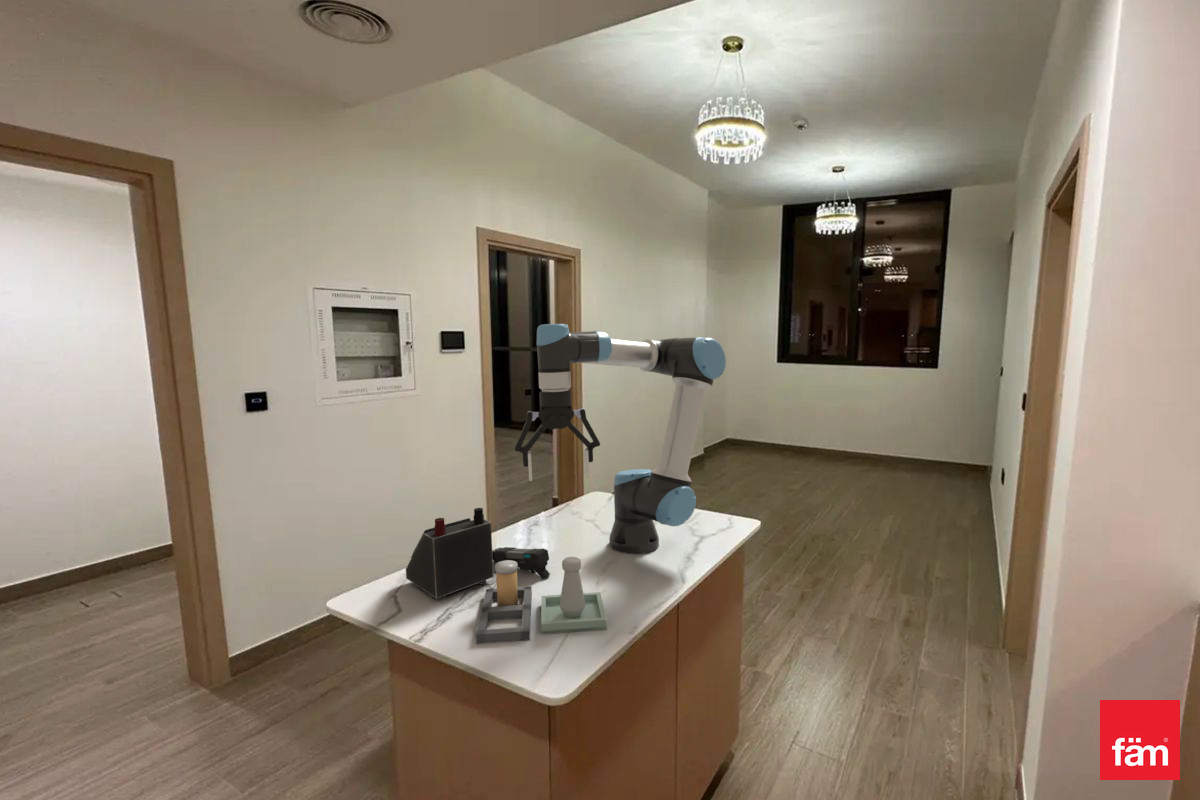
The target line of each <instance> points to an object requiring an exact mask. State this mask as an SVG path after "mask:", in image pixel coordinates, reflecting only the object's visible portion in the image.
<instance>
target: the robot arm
mask: <svg viewBox="0 0 1200 800" xmlns="http://www.w3.org/2000/svg"><path fill="white" fill-rule="evenodd" d="M568 325H569V324H566V323H547V324H546V323H544V324H540V325H539V326H538V327H537V329H536V347H537V348H536V350H537V351H536V352H537V365H538V367H537V368H538V388H539V389H540V390H541V391H540V392H539V393H538V394H539V410H538V411H531V410H528V411H527V413H526V415H527V416H526V420H525V423H524V426H523V427H522V430H521V432H520V434H519V436H518V439H517V441H516V443H515V446H514V451H515V452H520V453H521V454H522V464H523V466H524V467H528V481H529V482H532V481H533V468H532V466H533V465H532V451H530V450H531V449H532V447H533V446H534V445H535V443H536V442H537V441H538V440H539V439H540V437H542V436H541V435H542V434H543V433H544V432H545V431H546V430H547V429H549V430H552V431H553V430H556V429H558V430H563V429H566V428H568V429H569V430H570V431H571V432H572V433H573V434H574V435H575V436H576V437H577V438H578V439H579V441H580V442H581V443H582V444H583V445H584V446H585V447H584V448H583V457H584V461H583V462H584V475H585V477H586V478H589V477H590V463H593V462H594V448H597V447H600V445H601V442H600V440H599V438H598V437H597V435H596V433H595V431H594V430H593V428H592V426H591V424H590V423H589V421H588V419H587V413H586V410H585V408H583V407H580V408H579V409H573V404H572V400H573V399H572V391H571V387H572V382H571V381H572V379H571V364H590V365H603V366H615V367H627V368H629V367H630V368H639V369H640V370H641V371H642V372H649V373H656V374H661V375H664V376H668V377H669V376H670V377H671V380H672V382H673V383H674V385H675V388H674V392H673V398H672V402H671V406H670V412H669V414H668V415H669V416H668V421H667V425H666V429H665V433H664V438H663V442H662V446H661V447H662V448H661V452H660V457H659V461H658V464H657V466H656V468H654V469H652V470H651V469H648V468H637V469H636V468H635V469H626V470H621V471H619V472H616V474H615V475H614V479H613V480H614V481H613V498H614V500H613V501H614V503H613V504H614V505H613V506H614V521H613V524H612V528H611V531H610V534H609V538H608V539H609V540H608V541H609V543H608V544H609V547H610V549H612V550H613V551H616V552H619V553H623V554H631V555H632V554H634V555H636V554H637V555H638V554H646V553H650V552H653V551H655V550H656V549H658V548H659V547H660V538H659V534H658V531H657V529H656V525H655V523H654V521H655V522H657V523H659V524H661V525H665V526H668V527H680V526H682V525H684V524H685V523H686V521H688V520H690V519H691V517H692V516H693V514H694V512H695V508H696V505H697V497H696V494H695V493H696V492H695V491H694V489H693V488H691V486H692V479H691V477H690V476H689V469H690V465H691V459H692V457H693V456H692V455H693V450H694V447H695V441H696V437H697V434H698V433H697V431H698V427H699V422H700V419H701V413H702V410H703V404H704V399H705V396H706V392H707V391H709V390H710V389H712V388H713V383H714V380H717V379H718V378H721V376H722V375H723V374H724V371H725V369H726V365H727V364H726V362H727V360H726V354H725V351H724V349H723V346H722V345H721V343H720V342H719V341H718V340H716V339H714V338H712V337H703V336H698V337H673V338H665V339H648V338H647V339H644V340H642V341H635V340H625V339H615V338H611V337H610V335H609V334H608V332H607V333H606V332H605V331H599V330H598V331H597V330H592V331H576V332H573V331H570V329H569V326H568ZM574 416H576V417H577V418H578V419H580V420H581V422H582V424H583V426H584V427H585V429H586V430H587V432H588V435H589V437H590V438H591V440H592V441H590V440H588V438H586V437H585V435H584V434H583V433H582V432H581V431H580V430H579V429H578V428H577V427H576V426H575V425H574V424H573V423H572V419H573V418H574ZM537 418H539V420H540V421H541V423H540V425H539V427H538V428H537V429H536V430H535V432H534V433H533V434H532V436H531V437H530V438H529V439H528V440H527V442H526V443H525V445H524V446H523V444H524V441H525V440H526V436H527V435H528V432H529V431H530V427H531V425H532V423H533V422H534V421H535V420H537Z"/></svg>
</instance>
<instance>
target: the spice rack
mask: <svg viewBox="0 0 1200 800" xmlns="http://www.w3.org/2000/svg"><path fill="white" fill-rule="evenodd" d="M494 571H495V576H496V578H495V579H496V588H486V589H485V594H484V598H483V602H482V605H481V610H480V614H479V617H478V618H479V619H478V623H477V627H476V632H475V644H477V645H478V644H495V643H506V642H507V643H508V642H518V641H519V642H520V641H529V640H530V641H531V639H530V638H531V637H530V636H531V635H530V634H531V615H532V595H533V593H532V591H533V590H532V586H530V585H529V586H518V565H517V562H516V561H512V560H505V561H500V562H495V566H494ZM519 599H523V603H522V604H519ZM494 600H496V603H497V606H495V605H494V606H493V601H494ZM516 619H521V625H520V626H521V627H508V628H507V627H504V628H494V629H492V628H491V629H488V628H489V627H488V626H489V622H490V621H500V620H501V621H503V620H516Z"/></svg>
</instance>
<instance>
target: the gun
mask: <svg viewBox="0 0 1200 800" xmlns="http://www.w3.org/2000/svg"><path fill="white" fill-rule="evenodd" d="M549 556H550V555H549V550H548V549H546V548H516V547H509V546H505V547H498V548H495V549H492V558H493V562H494V563H498V562H500V561H505V560H512V561H516V562H517V565H518V568H519V571H529V572H530V573H531V574H533V575H534V574H537V575H538V576H539V577H540V579H541V580H545V579H547V578H549V577H550V575H551V573H550V572H549V571H548V570H547V566H548V561H550V557H549Z"/></svg>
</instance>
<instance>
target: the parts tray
mask: <svg viewBox="0 0 1200 800" xmlns="http://www.w3.org/2000/svg"><path fill="white" fill-rule="evenodd" d="M583 594H584V599H585V607H584V609H583V611H582V613H581V616H580V617H577V618H567V617H565V615H564V613H563V612H562V610H561V608H560V598H561V594H554V595H553V594H551V595H541V603H540V604H541V606H540V607H541V608H540V609H541V610H540V611H541V614H540V615H541V616H540V617H541V618H540V621H541V623H540V624H541V627H540V628H541V629H540V631H541V635H545V634H559V633H573V632H587V631H601V630H604V631H605V630H607V627H608V626H607V617H606V612H605V607H604V602H603V599H602V594H601V592H600V591H598V592H585V593H584V592H583Z"/></svg>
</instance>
